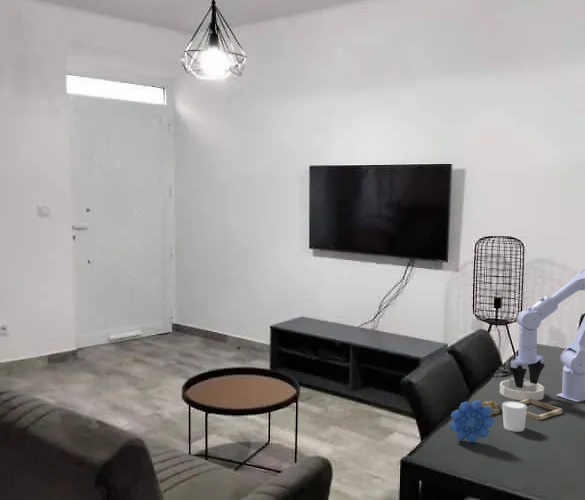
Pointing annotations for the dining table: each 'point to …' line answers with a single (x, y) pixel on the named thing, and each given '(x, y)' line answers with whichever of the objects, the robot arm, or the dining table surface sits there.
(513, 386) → the matte grey cube
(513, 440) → the dining table surface
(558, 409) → the parts frame
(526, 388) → the beige grey cube
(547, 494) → the dining table surface
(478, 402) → the blue knobbed flower
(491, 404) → the mineral rock
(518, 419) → the white cup
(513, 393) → the bowl
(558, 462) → the dining table surface
